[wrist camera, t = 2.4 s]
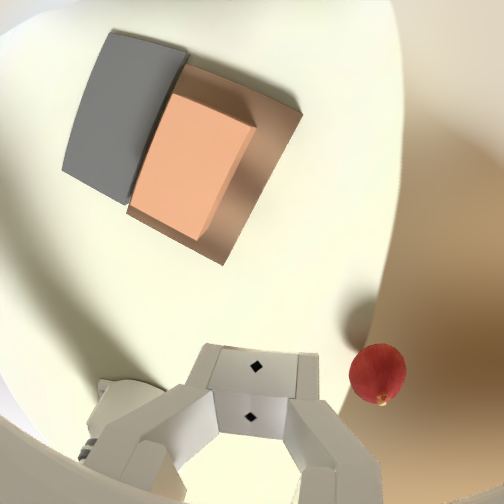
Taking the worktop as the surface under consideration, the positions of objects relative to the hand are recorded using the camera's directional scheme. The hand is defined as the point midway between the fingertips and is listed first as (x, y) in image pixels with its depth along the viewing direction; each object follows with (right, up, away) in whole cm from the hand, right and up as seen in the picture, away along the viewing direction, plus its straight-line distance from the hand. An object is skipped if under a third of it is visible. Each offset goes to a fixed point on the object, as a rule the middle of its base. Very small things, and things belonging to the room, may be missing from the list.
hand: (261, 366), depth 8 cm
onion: (+13, -7, +22) cm, 26 cm away
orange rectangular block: (-5, +10, +15) cm, 19 cm away
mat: (-13, +16, +16) cm, 26 cm away
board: (-4, +11, +17) cm, 20 cm away
